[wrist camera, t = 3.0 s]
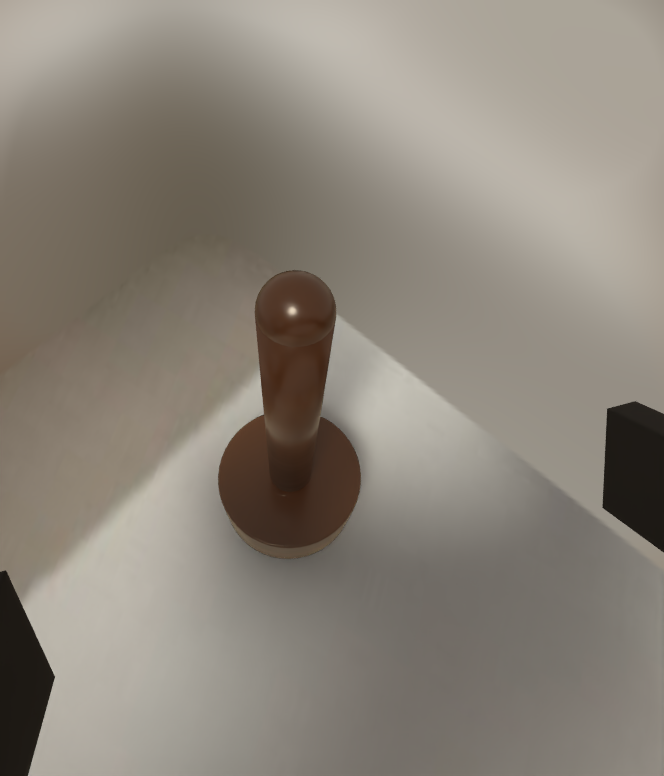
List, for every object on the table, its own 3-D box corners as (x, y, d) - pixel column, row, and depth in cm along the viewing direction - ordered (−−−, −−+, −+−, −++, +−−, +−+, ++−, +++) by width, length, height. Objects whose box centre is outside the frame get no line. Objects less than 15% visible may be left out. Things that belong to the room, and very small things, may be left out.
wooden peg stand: (200, 517, 23) (70, 331, 9) (268, 413, 25) (248, 137, 11) (314, 584, 22) (363, 493, 8) (373, 470, 24) (490, 249, 10)
